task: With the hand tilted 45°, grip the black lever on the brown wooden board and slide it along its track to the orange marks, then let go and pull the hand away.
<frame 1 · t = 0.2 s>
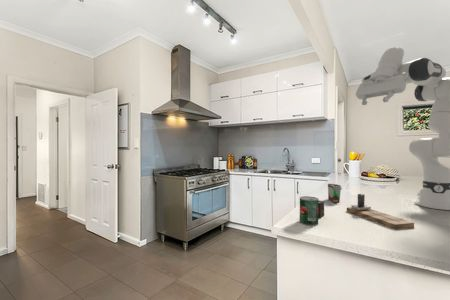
hand: (374, 102, 101), 54 cm above the worktop, tool tilted 30°, fingers open, 8 cm apart
canned tomato: (308, 223, 99), on the worktop
slider: (361, 201, 113), point 6 cm above the worktop, slide at -9.0 cm
box: (316, 216, 108), on the worktop
brown wooden board: (376, 218, 104), on the worktop
food container: (335, 201, 137), on the worktop
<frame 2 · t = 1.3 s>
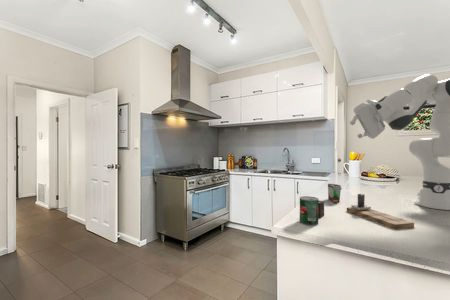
hand: (354, 130, 114), 42 cm above the worktop, tool tilted 50°, fingers open, 8 cm apart
nothing on the worktop moved.
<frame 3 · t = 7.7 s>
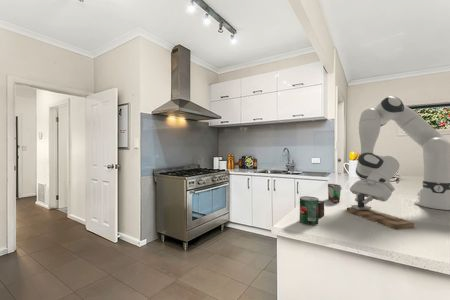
hand: (360, 202, 113), 6 cm above the worktop, tool tilted 45°, fingers closed on slider, 3 cm apart
slider: (361, 201, 113), point 6 cm above the worktop, slide at -9.0 cm, touching gripper
everything else where it was.
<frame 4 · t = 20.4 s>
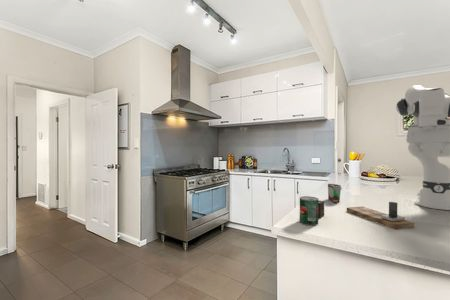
hand: (431, 152, 102), 31 cm above the worktop, tool pointing down, fingers open, 8 cm apart
slider: (393, 210, 96), point 6 cm above the worktop, slide at 7.9 cm
everything else where it was.
at the end: slider slide at 7.9 cm; the gripper is holding nothing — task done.
